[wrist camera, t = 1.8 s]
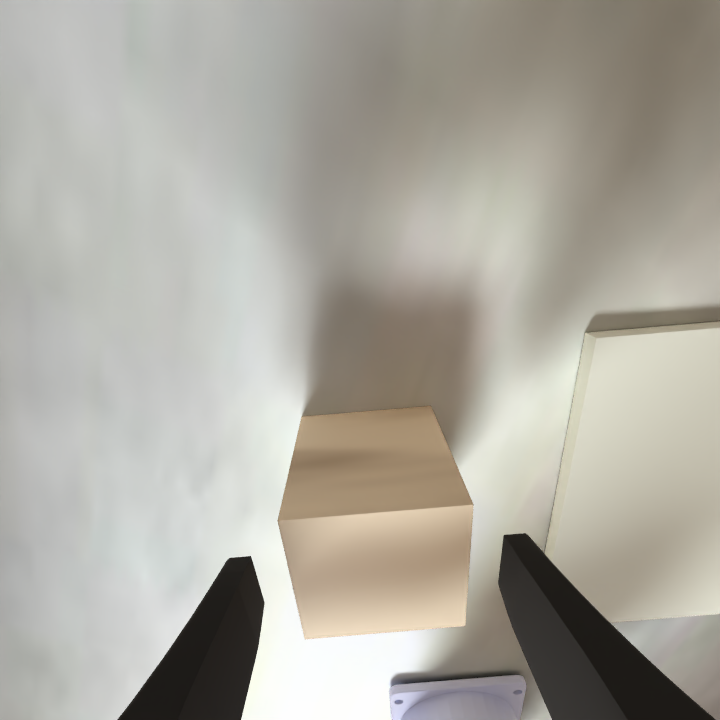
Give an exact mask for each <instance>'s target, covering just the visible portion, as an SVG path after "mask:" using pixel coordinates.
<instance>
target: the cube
mask: <svg viewBox="0 0 720 720" xmlns="http://www.w3.org/2000/svg"><path fill="white" fill-rule="evenodd" d="M472 519H473V503H472V500H471V498H470V496H469V493H468V491H467V489H466V486H465V484H464V482H463V479H462V477H461V475H460V472H459V470H458V468H457V465H456V463H455V461H454V458H453V456H452V454H451V451H450V449H449V447H448V445H447V442H446V440H445V438H444V435H443V433H442V431H441V428H440V426H439V424H438V421H437V419H436V417H435V414H434V412H433V410H432V407H431V406H423V407H411V408H399V409H386V410H374V411H362V412H350V413H338V414H326V415H314V416H302V417H301V421H300V426H299V430H298V435H297V439H296V443H295V448H294V452H293V456H292V461H291V465H290V469H289V474H288V478H287V482H286V487H285V491H284V495H283V500H282V504H281V508H280V513H279V517H278V525H279V529H280V533H281V538H282V542H283V546H284V551H285V555H286V559H287V564H288V568H289V572H290V577H291V581H292V586H293V590H294V594H295V599H296V603H297V607H298V612H299V616H300V620H301V625H302V629H303V633H304V638H305V639H314V638H326V637H339V636H351V635H363V634H375V633H387V632H399V631H411V630H424V629H436V628H448V627H460V626H465V621H466V607H467V592H468V577H469V563H470V548H471V533H472Z"/></svg>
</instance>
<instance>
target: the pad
mask: <svg viewBox="0 0 720 720" xmlns="http://www.w3.org/2000/svg"><path fill="white" fill-rule="evenodd" d="M545 555H546V556H547V557H548V558H549V559H550V560H551V562H552V563H553V564H554V565H555V566H556V567H557V568H558V569H559V570H560V571H561V572H562V574H563V575H564V576H565V577H566V578H567V579H568V580H569V581H570V582H571V583H572V584H573V585H574V586H575V588H576V589H577V590H578V591H579V592H580V593H581V594H582V595H583V596H584V597H585V598H586V599H587V600H588V601H589V602H590V603H591V604H592V605H593V606H594V607H595V608H596V609H597V610H598V611H599V612H600V613H601V614H602V615H603V616H604V617H605V618H606V619H607V620H608V621H609V622H610V623H613V622H625V621H638V620H650V619H662V618H674V617H686V616H699V615H711V614H720V321H718V322H706V323H695V324H683V325H671V326H659V327H647V328H635V329H623V330H611V331H599V332H587V333H585V337H584V342H583V348H582V353H581V359H580V364H579V369H578V375H577V380H576V386H575V391H574V397H573V402H572V407H571V413H570V418H569V424H568V429H567V434H566V440H565V445H564V451H563V456H562V462H561V467H560V472H559V478H558V483H557V489H556V494H555V500H554V505H553V510H552V516H551V521H550V527H549V532H548V538H547V543H546V548H545Z"/></svg>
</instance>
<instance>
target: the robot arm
mask: <svg viewBox="0 0 720 720" xmlns="http://www.w3.org/2000/svg"><path fill="white" fill-rule="evenodd" d="M498 584H499V588H500V591H501V594H502V597H503V600H504V603H505V607H506V610H507V613H508V616H509V619H510V622H511V624H512V627H513V630H514V632H515V634H516V637H517V639H518V641H519V644H520V646H521V648H522V651H523V653H524V655H525V658H526V660H527V662H528V665H529V667H530V669H531V672H532V674H533V676H534V679H535V681H536V683H537V685H538V688H539V690H540V692H541V695H542V697H543V699H544V702H545V704H546V706H547V709H548V711H549V713H550V716H551V718H552V720H716V719H714V718H713V717H712V716H711V715H710V714H708V713H707V712H706V711H705V710H704V709H703V708H701V707H700V706H699V705H698V704H697V703H696V702H695V701H693V700H692V699H691V698H690V697H689V696H688V695H687V694H685V693H684V692H683V691H682V690H681V689H680V688H679V687H677V686H676V685H675V684H674V683H673V682H672V681H671V680H670V679H669V678H668V677H666V676H665V675H664V674H663V673H662V672H661V671H660V670H659V669H658V668H657V667H656V666H654V665H653V664H652V663H651V662H650V661H649V660H648V659H647V658H646V657H645V656H644V655H643V654H642V653H641V652H640V651H638V650H637V649H636V648H635V647H634V646H633V645H632V644H631V643H630V642H629V641H628V640H627V639H626V638H625V637H624V636H623V635H622V634H621V633H620V632H619V631H618V630H617V629H616V628H615V627H614V626H613V625H612V624H611V623H610V622H609V621H608V620H607V619H606V618H605V617H604V616H603V615H602V614H601V613H600V612H599V611H598V610H597V609H596V608H595V607H594V606H593V605H592V604H591V603H590V602H589V601H588V600H587V599H586V598H585V597H584V596H583V595H582V594H581V593H580V592H579V591H578V590H577V589H576V588H575V586H574V585H573V584H572V583H571V582H570V581H569V580H568V579H567V578H566V577H565V576H564V575H563V574H562V572H561V571H560V570H559V569H558V568H557V567H556V566H555V565H554V564H553V563H552V562H551V560H550V559H549V558H548V557H547V556H546V555H545V554H544V553H543V552H542V550H541V549H540V548H539V547H538V546H537V545H536V544H535V543H534V542H533V540H532V539H531V538H530V537H529V536H528V535H527V534H526V533H524V534H512V535H504V538H503V547H502V555H501V563H500V572H499V580H498ZM263 610H264V599H263V596H262V593H261V589H260V586H259V582H258V579H257V575H256V572H255V569H254V565H253V562H252V558H251V556H248V557H236V558H229V559H228V560H227V561H226V563H225V565H224V566H223V568H222V569H221V571H220V573H219V574H218V576H217V578H216V579H215V581H214V582H213V584H212V586H211V587H210V589H209V590H208V592H207V593H206V595H205V597H204V598H203V600H202V601H201V603H200V604H199V606H198V607H197V609H196V611H195V612H194V614H193V615H192V617H191V618H190V620H189V621H188V623H187V624H186V626H185V627H184V628H183V630H182V631H181V633H180V634H179V636H178V637H177V639H176V640H175V642H174V643H173V645H172V646H171V648H170V649H169V651H168V652H167V653H166V655H165V656H164V658H163V659H162V660H161V662H160V663H159V665H158V666H157V667H156V669H155V670H154V672H153V673H152V674H151V676H150V677H149V678H148V680H147V681H146V683H145V684H144V685H143V687H142V688H141V689H140V691H139V692H138V694H137V695H136V696H135V698H134V699H133V700H132V702H131V703H130V704H129V706H128V707H127V708H126V709H125V711H124V712H123V713H122V715H121V716H120V717H119V719H118V720H241V717H242V713H243V709H244V705H245V701H246V696H247V692H248V688H249V684H250V680H251V675H252V671H253V667H254V663H255V658H256V654H257V650H258V645H259V638H260V631H261V625H262V617H263ZM526 687H527V685H526V682H525V679H524V677H523V676H521V675H508V676H496V677H484V678H471V679H459V680H447V681H435V682H422V683H410V684H398V685H394V686H392V687H391V688H390V690H389V694H390V706H391V718H392V720H520V717H521V712H522V707H523V702H524V697H525V692H526Z"/></svg>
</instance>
